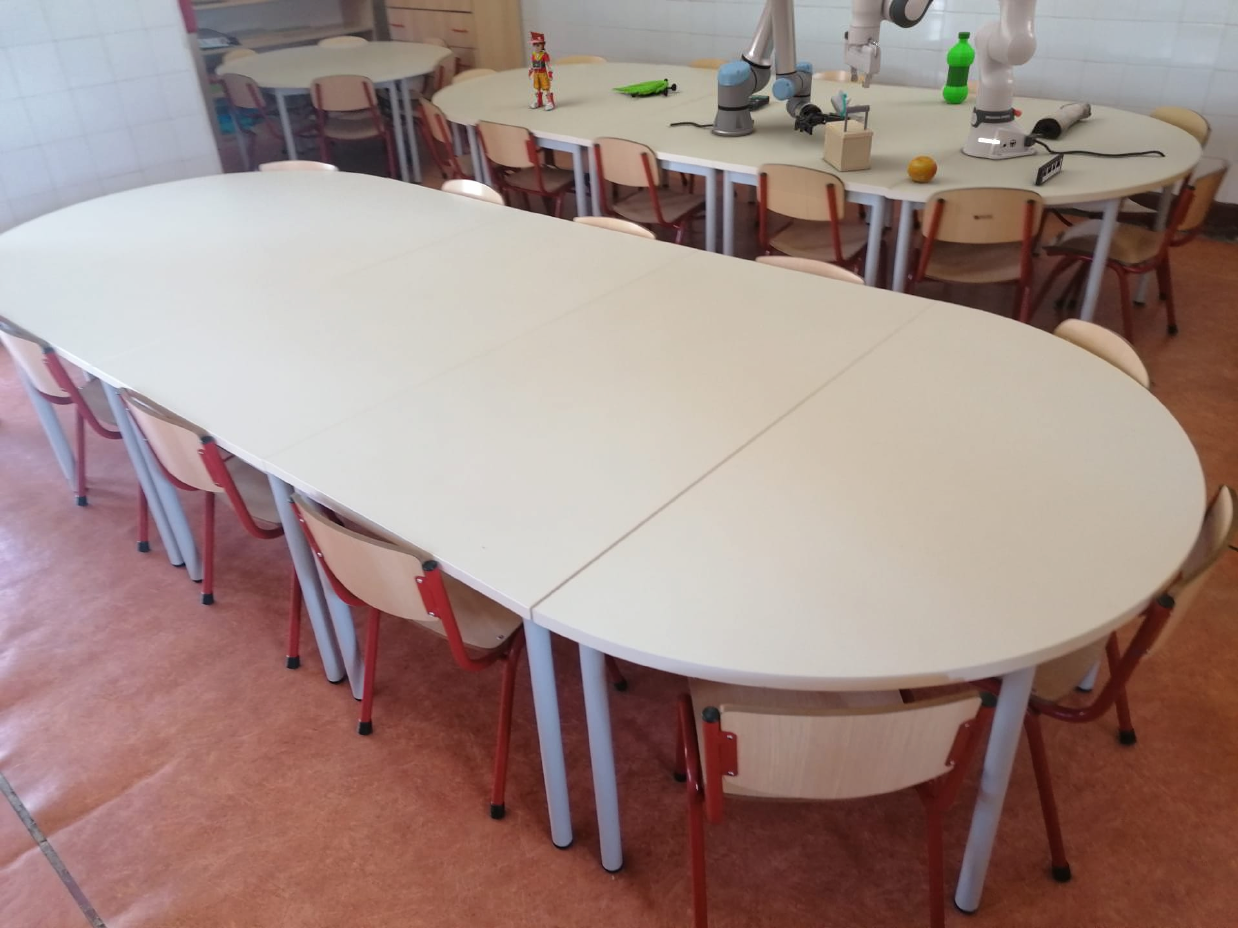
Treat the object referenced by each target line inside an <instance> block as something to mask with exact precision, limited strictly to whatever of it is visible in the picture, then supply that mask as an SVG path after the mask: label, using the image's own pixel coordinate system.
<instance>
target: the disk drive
mask: <svg viewBox="0 0 1238 928" xmlns="http://www.w3.org/2000/svg"><path fill="white" fill-rule="evenodd" d="M770 99H771V98H770V95H761V94H752V95H750V97H749V111H756V110H758V109H760V108H761V107H763V106H765V105H768V104H769V103H770Z"/></svg>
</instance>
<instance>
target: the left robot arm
mask: <svg viewBox="0 0 1238 928" xmlns="http://www.w3.org/2000/svg"><path fill="white" fill-rule="evenodd" d="M795 19H796V18H795V1H794V0H766V2H765V4H764V7H763V9H762V12H761V15H760V17H759V21H758V23H757V25H756V28H755V31H754V34H753V37H752V38H751V42H750V45H749V47H748V48H747V49H746V48H745V50H742V51H743V52H742V54H741V57H740V59H739V60H733V61H730V62H726V63H723V64H722V65H720V67H719V68H718V70H717V71H718V72H717V111H716V114H715V118H714V120H713V123H710V124H709V123H707V124H699V123H696V122H693V121H683V122H682V121H679V122H673V123H670V124H669V126H670V127H675V126H681V125H682V126H683V125H692V126H695V127H698V128H711V127H712V133H713V134H715V135H717V136H721V137H741V136H746V135H750V134H752V133H754V127H755V126H754V124H755V119H753V118H752V115H751V110H749V97H750V95H755V94H757V93H759V92H760V91H762V90H763V89H764V88H765V87H766V86H767V85H768V84H769V82H770V80H771V77H772V69H771V68H772V65H773V59H772V54H774V66H775V67H774V68H775V81H774V82H773V84H772V86H771V92H772V96H773V97H774V98H775V99H776V100H777V101H781V102H783V101H786V103H785V110H786V112H787V113H788V114H789V116H790V117H791V118H793V119H795V121H794V127H793V131H798V130H799V133H804V132H805V133H807V134H808V135H809V136H813V130H814V128H815V127H817V126H819V125H825V126H826V122H836V121H845V116H843V115H841V114H839V113H834V112H829V113H823V112H822V109H821V108H820V107H819V106H818V105H816V104H814V103H813V102H811V100H812V99H811V97H812V85H813V74H814V73H813V64H812V63H811V62H808V61H797V44H796V43H797V41H796V39H797V38H796V22H795V21H796V20H795ZM848 120H850V117H848Z"/></svg>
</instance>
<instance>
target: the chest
mask: <svg viewBox="0 0 1238 928" xmlns="http://www.w3.org/2000/svg"><path fill="white" fill-rule="evenodd" d="M824 135H825V136H824V147H823V148H824V149H823V160H825V161H826V162H827V163H829V164H830V165H832V167H833V168H835V169H836V170H837V171H839V172H849V171H858V170H867V169H870V161H871V151H872V142H873V136H866V137H857V138H847V139H843V138H842V137H840V136H839V135H838V134H836V133H835V132H833V131H832V130H830V129H829V128H827V127H826V126H825V134H824Z"/></svg>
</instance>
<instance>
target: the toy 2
mask: <svg viewBox="0 0 1238 928" xmlns="http://www.w3.org/2000/svg"><path fill="white" fill-rule="evenodd" d="M669 85H670V83H669V79H668V78H664V79H663V80H649V81H644V82H640V83H634V84H629V85H627V86H621V87H613V88H612V89H613V90H616V91H619V92H623V93H627V94H628V93H629V94H631V95H630V96H631V98H632V99H634V98H636V96H637V95H650V94H652V93H654V94H658V93H662V95H663V96H665V97H667V96H668V95H669V90H671V91H672V92H676V91H677V84H676V83H672V84H671V86H669Z"/></svg>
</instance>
